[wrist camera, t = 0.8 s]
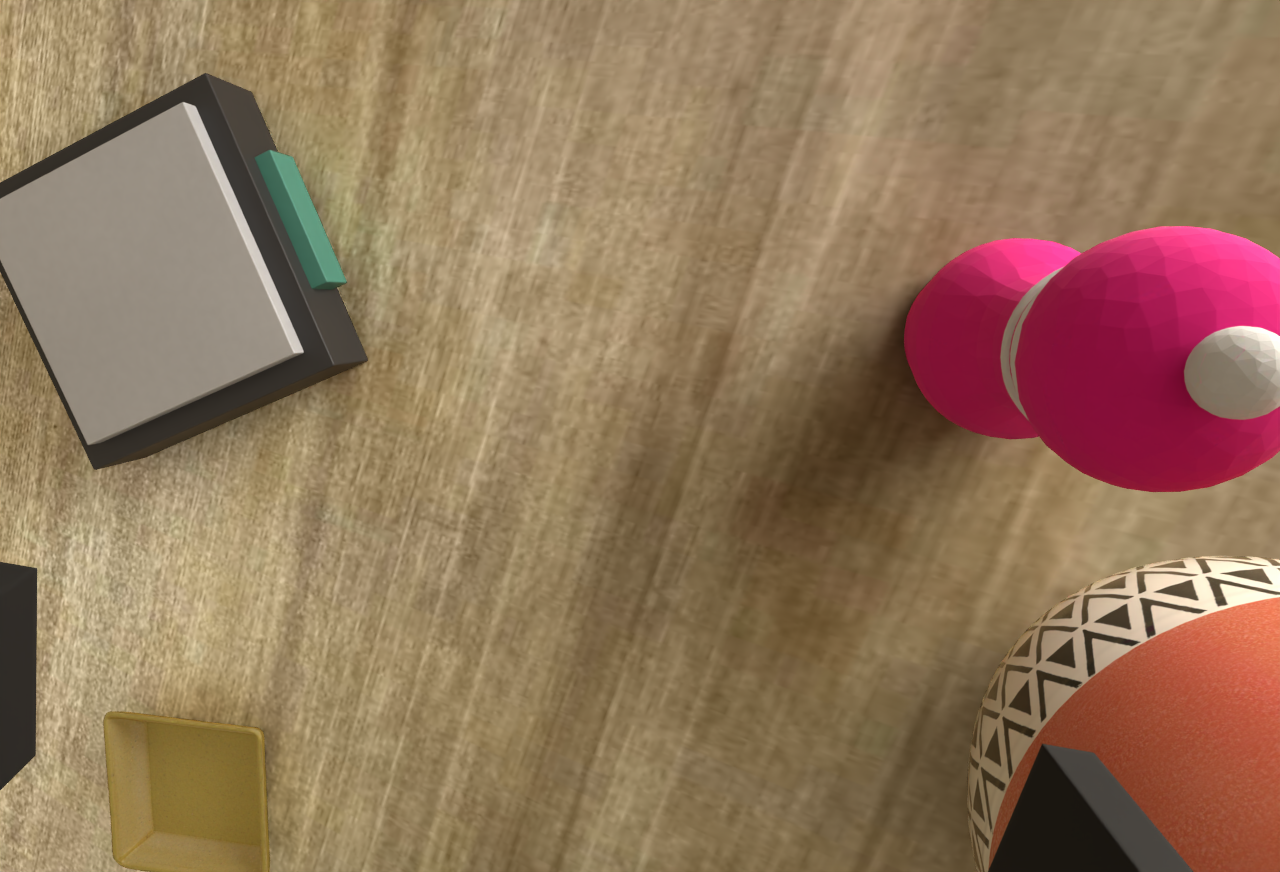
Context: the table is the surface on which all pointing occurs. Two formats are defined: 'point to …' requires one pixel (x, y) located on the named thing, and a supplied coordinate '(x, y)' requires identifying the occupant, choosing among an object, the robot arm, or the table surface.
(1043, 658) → the planter
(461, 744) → the table surface
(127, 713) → the saucer
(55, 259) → the scale
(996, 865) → the robot arm
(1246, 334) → the pepper mill
